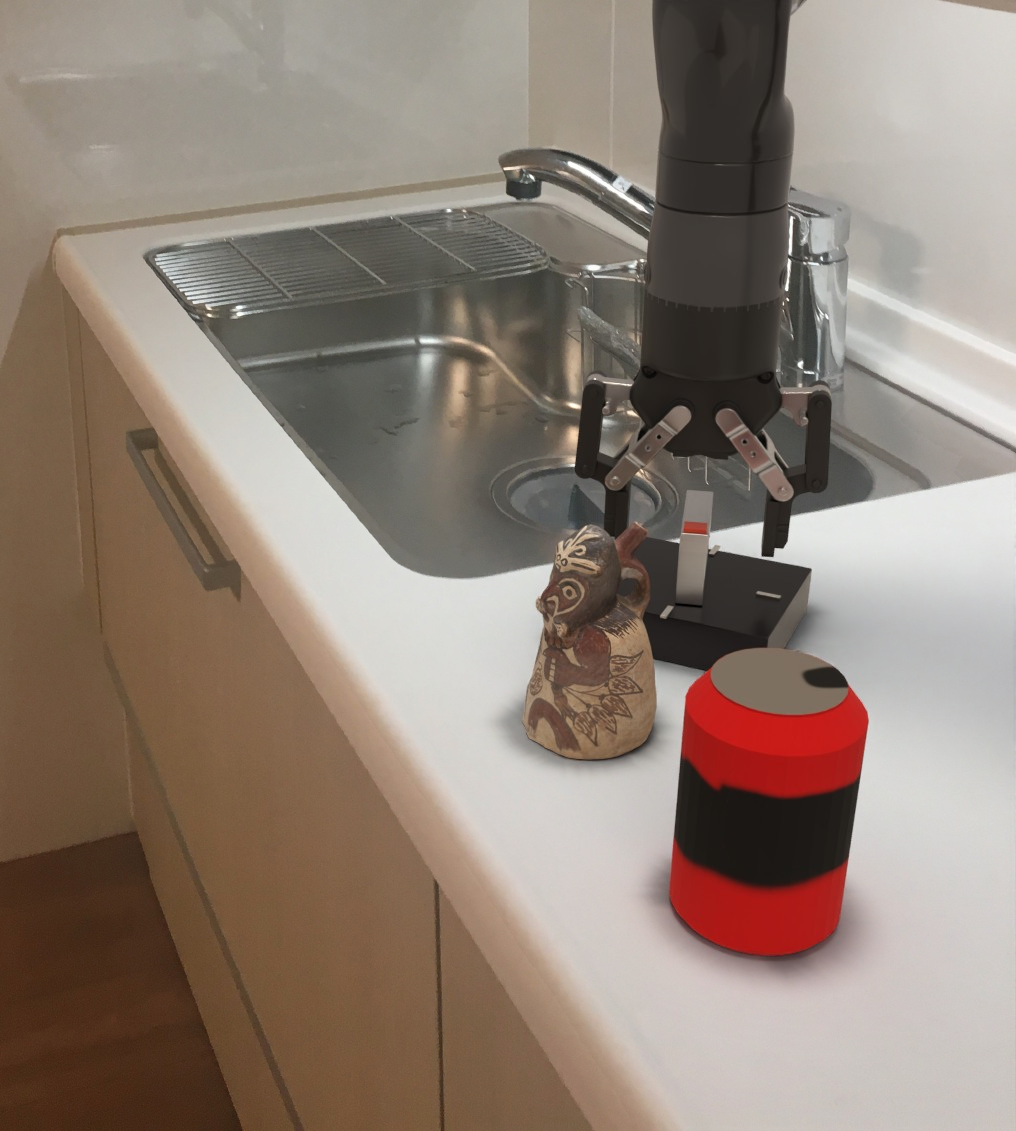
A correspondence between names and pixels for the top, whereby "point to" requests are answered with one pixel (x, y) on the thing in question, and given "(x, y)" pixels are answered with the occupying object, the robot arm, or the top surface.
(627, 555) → the figurine
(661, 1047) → the top surface
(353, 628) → the top surface
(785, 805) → the soda can
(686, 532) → the grey rectangular block
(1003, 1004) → the top surface
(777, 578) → the tap plate
